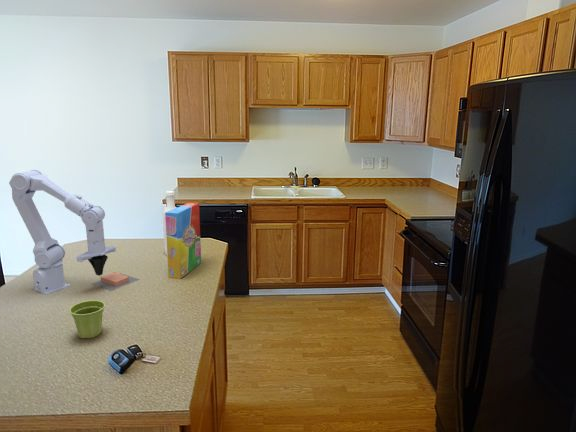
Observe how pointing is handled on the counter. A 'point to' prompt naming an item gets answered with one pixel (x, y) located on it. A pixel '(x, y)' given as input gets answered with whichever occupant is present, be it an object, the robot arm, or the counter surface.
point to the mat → (110, 287)
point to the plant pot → (88, 317)
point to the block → (115, 279)
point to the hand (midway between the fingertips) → (99, 274)
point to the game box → (183, 239)
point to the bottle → (169, 207)
